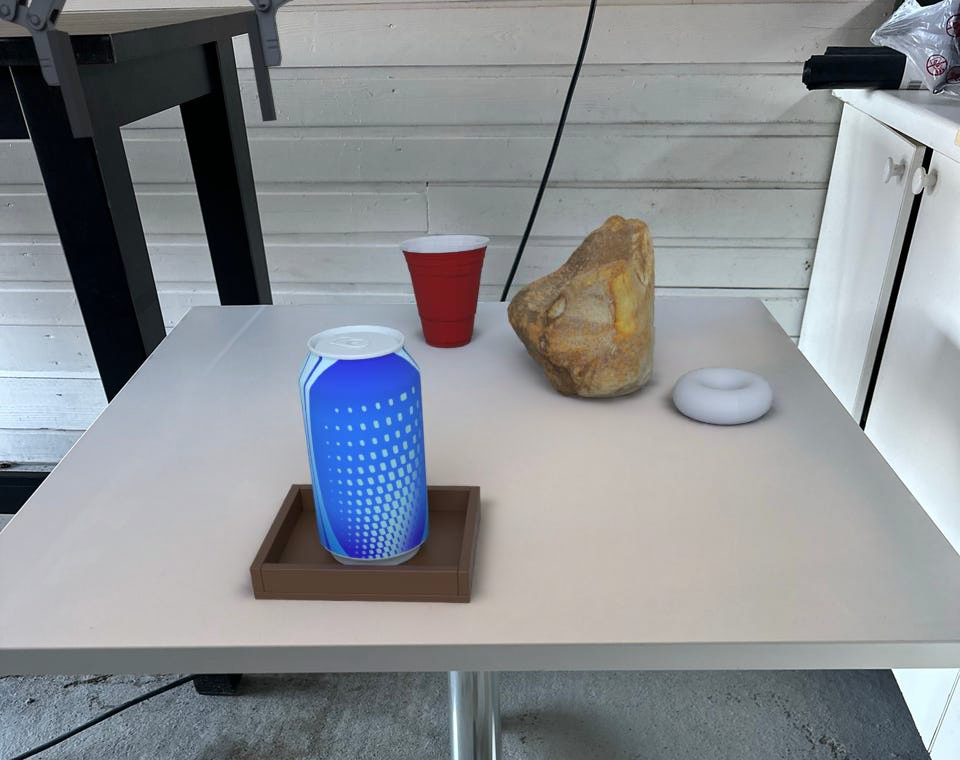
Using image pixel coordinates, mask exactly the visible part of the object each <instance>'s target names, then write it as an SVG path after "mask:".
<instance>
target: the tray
mask: <svg viewBox="0 0 960 760" xmlns="http://www.w3.org/2000/svg"><path fill="white" fill-rule="evenodd" d="M427 499H428V517H429V533H428V536H427V538H426V539H425V541H424V542H423V543H422V544H421V545H420V548H419V550H418V552H417V553H416V554H415V555H414V556H413V557H412V558H411V559H409V560H407V561H405V562H403V563H401V564H398V565H344V564H342V563H340V562H339V561H337V560H336V559H335V558H334V557H333V555H332V554H331V552H330V551H328V550H327V549H326V548H325V547H324V546H323V545H322V543H321V541H320V539H319V532H318V524H317V517H316V510H315V502H314V495H313V487H312V483H302V484H301V483H292V484H291V486H290V488H289V490H288V492H287V493H286V496H285V497H284V499H283V502H282V504H281V505H280V508H279V510H278V511H277V513H276V515H275V517H274V520H273V521H272V523H271V525H270V527H269V529H268V531H267V533H266V535H265V537H264V539H263V541H262V544H261V546H260V547H259V549H258V551H257V552H256V554H255V556H254V559H253V561H252V562H251V565H250V566H249V574H250V579H251V584H252V589H253V595H254V596H253V597H254V599H255V600H285V601H286V600H287V601H289V600H290V601H291V600H293V601H342V602H343V601H344V602H345V601H346V602H347V601H348V602H349V601H350V602H352V601H353V602H402V603H405V602H406V603H407V602H409V603H459V604H460V603H465V604H468V603H471V595H472V587H473V580H474V571H475V563H476V555H477V546H478V541H479V540H478V539H479V531H480V525H481V524H480V522H481V517H482V512H481V511H482V509H481V507H482V505H481V486H480V485H436V484H435V485H433V484H432V485H430V484H429V485H428V484H427Z"/></svg>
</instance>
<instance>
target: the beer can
mask: <svg viewBox="0 0 960 760" xmlns="http://www.w3.org/2000/svg"><path fill="white" fill-rule="evenodd" d="M405 344H406V337H405V335H404V334H403V333H402V332H401V331H399V330H397V329H394V328H392V327H387V326H381V325H373V324H372V325H370V324H369V325H368V324H359V325H346V326H339V327H338V326H337V327H333V328H328V329H326V330H322V331H319V332H318V333H315V334H313V335H312V336H311V337H310V338H309V339H308V340H307V343H306V345H307V349H308V352H307V354H306V356H305V358H304V360H303V362H302V365H301V367H300V369H299V371H298V374H297V382H298V390H299V398H300V406H301V412H302V413H301V414H302V419H303V427H304V435H305V441H306V450H307V457H308V464H309V471H310V479H311V484H312V487H313V495H314V502H315V510H316V517H317V524H318V532H319V539H320V541H321V543H322V545H323V546H324V547H325V548H326V549H327V550H328V551H330V552H331V554H332V555H333V557H334V558H335V559H336V560H337V561H339V562H340V563H342V564H344V565H398V564H401V563H403V562H405V561H407V560H409V559H411V558H412V557H413V556H414V555H415V554H416V553H417V552H418V550H419V548H420V545H421V544H422V543H423V542H424V541H425V539H426V538H427V536H428V533H429V517H428V499H427V485H428V483H427V481H428V480H427V465H426V450H425V449H426V446H425V429H424V412H423V410H424V409H423V394H422V378H421V377H422V375H421V368H420V366H419V364H418V362H417V361H416V360H415V358H414V356H413V355H412V354H411V352H410V351H409V349H408V348H407V346H406V345H405Z"/></svg>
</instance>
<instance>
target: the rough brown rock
mask: <svg viewBox="0 0 960 760" xmlns="http://www.w3.org/2000/svg"><path fill="white" fill-rule="evenodd" d="M652 236H653V235H652V233H651V230H650V228H649V226H648V224H647V222H645V221H643V220H641V219H639V218H632V217H631V218H627V219H626V218H624V217H623V216H621V215H619V214H614V215H611V216H610V217H607V219H606V220H605V221H604V223H603V224H602V225H601V226H600V227H598V228H597V229H594V230H593V231H591V232H589V234H588V235H587V236H586V237H585V238H584V239H583V241H582V242H581V243H580V245H579V246H578V247H577V248H575V249H574V251H572V253H571V255H569V256H568V259H567V260H566V262H565V263H563V264H562V265H561V266H560V267H559V268H558V269H556V270H555V271H553V272H551V273H549V274H547V275H545V276H543V277H541V278H539V279H535V280H533V281H532V282H531V283H529V284H527V285H525V286H524V287H522V288H521V289H520V290H519V291H518V292H517V293H515V295H514V296H513V297H512V298H511V301H510V302H509V303H508V306H507V308H506V311H507V319H508V323H509V325H510V326H511V328H512V330H513V331H514V333H515V335H516V336H517V337H518V339H519V340H520V342H521V343H522V344H523V346H524V348H525V349H526V352H527V353H528V355H529V356H530V357H531V358H532V360H533V361H534V362H535V363H538V365H539V366H540V367H541V369H542V370H543V373H544V374H545V376H546V377H547V379H548V380H549V382H550V384H551V385H552V387H554V389H555V390H556V391H557V392H560V393H561V394H562V395H563V396H566V397H570V396H571V395H573V394H576V395H578V396H580V397H583V398H601V399H602V398H603V399H606V398H615V397H620V396H625V395H626V396H627V395H628V394H631V393H634V392H636V391H638V390H640V389H642V388H643V387H645V386H646V385H647V384H648V383H649V382H650V380H651V378H652V375H653V370H654V352H655V346H656V327H655V299H656V297H655V296H656V295H655V290H656V282H655V281H656V276H655V248H654V242H653V237H652Z"/></svg>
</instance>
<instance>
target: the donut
mask: <svg viewBox="0 0 960 760" xmlns="http://www.w3.org/2000/svg"><path fill="white" fill-rule="evenodd" d="M772 389H773V388H772V387H771V385H770V384H769V382H768V381H767V380H766V379H765V378H763V377H762V376H760V375H758V374H756V373H754V372H751V371H749V370H745V369H741V368H736V367H728V366H727V367H726V366H710V367H701V368H697V369H693V370H691V371H688V372H686V373H684V374H682V375H681V376H680V377H678V379H677V380H676V382H675V384H674V385H673V387H672V390H671V398H672V401H673V404H674V407H675V408H676V409H677V410H678V411H679V412H680V413H681V414H683V415H684V416H686V417H688V418H691V419H693V420H695V421H699V422H702V423H706V424H714V425H730V426H731V425H740V424H746V423H750V422H752V421H756V420H757V419H759V418H761V417H762V416H764V415H765V414H767V413H768V411H769V410H770V408H771V405H772V403H773V400H774V391H773V390H772Z"/></svg>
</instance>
